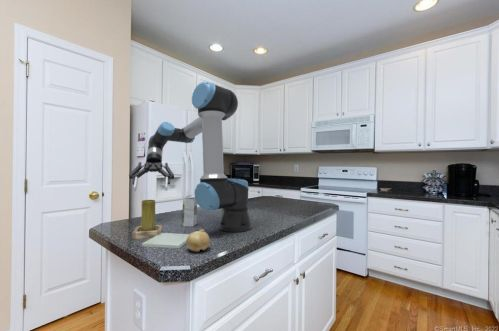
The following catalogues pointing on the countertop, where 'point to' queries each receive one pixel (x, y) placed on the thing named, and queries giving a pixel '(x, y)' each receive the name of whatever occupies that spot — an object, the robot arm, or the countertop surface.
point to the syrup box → (189, 211)
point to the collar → (146, 232)
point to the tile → (167, 240)
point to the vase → (148, 216)
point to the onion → (198, 241)
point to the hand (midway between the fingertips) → (150, 189)
